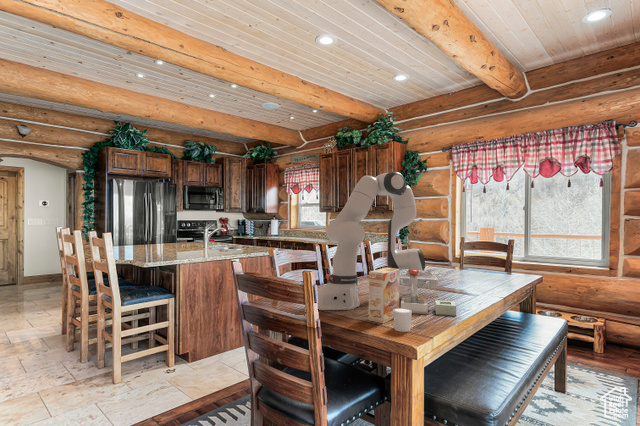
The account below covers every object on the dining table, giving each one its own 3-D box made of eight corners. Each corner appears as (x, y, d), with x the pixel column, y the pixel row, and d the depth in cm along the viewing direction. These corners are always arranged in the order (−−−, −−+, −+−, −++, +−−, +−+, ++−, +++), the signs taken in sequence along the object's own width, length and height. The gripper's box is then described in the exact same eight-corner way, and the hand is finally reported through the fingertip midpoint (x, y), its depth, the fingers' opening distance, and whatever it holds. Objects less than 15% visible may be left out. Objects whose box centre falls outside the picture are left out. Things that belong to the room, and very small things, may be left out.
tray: (400, 312, 153) (400, 302, 153) (402, 305, 163) (402, 297, 163) (427, 314, 150) (427, 304, 150) (427, 307, 160) (427, 298, 160)
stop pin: (412, 309, 154) (411, 271, 154) (407, 306, 158) (406, 269, 158) (421, 308, 155) (420, 270, 155) (416, 305, 159) (415, 269, 159)
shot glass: (410, 333, 125) (410, 313, 125) (391, 331, 128) (391, 311, 128) (412, 327, 132) (412, 308, 132) (394, 325, 134) (394, 307, 134)
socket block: (436, 314, 150) (435, 304, 150) (435, 309, 158) (435, 300, 158) (456, 315, 148) (456, 305, 148) (454, 310, 155) (454, 301, 155)
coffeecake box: (384, 324, 136) (384, 273, 136) (367, 320, 140) (367, 271, 141) (400, 315, 148) (400, 268, 148) (384, 312, 152) (384, 267, 153)
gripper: (392, 271, 172) (390, 275, 158) (437, 273, 166) (438, 278, 153) (392, 284, 172) (390, 289, 158) (437, 286, 166) (438, 292, 153)
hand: (414, 284), depth 156 cm, fingers open, 8 cm apart
